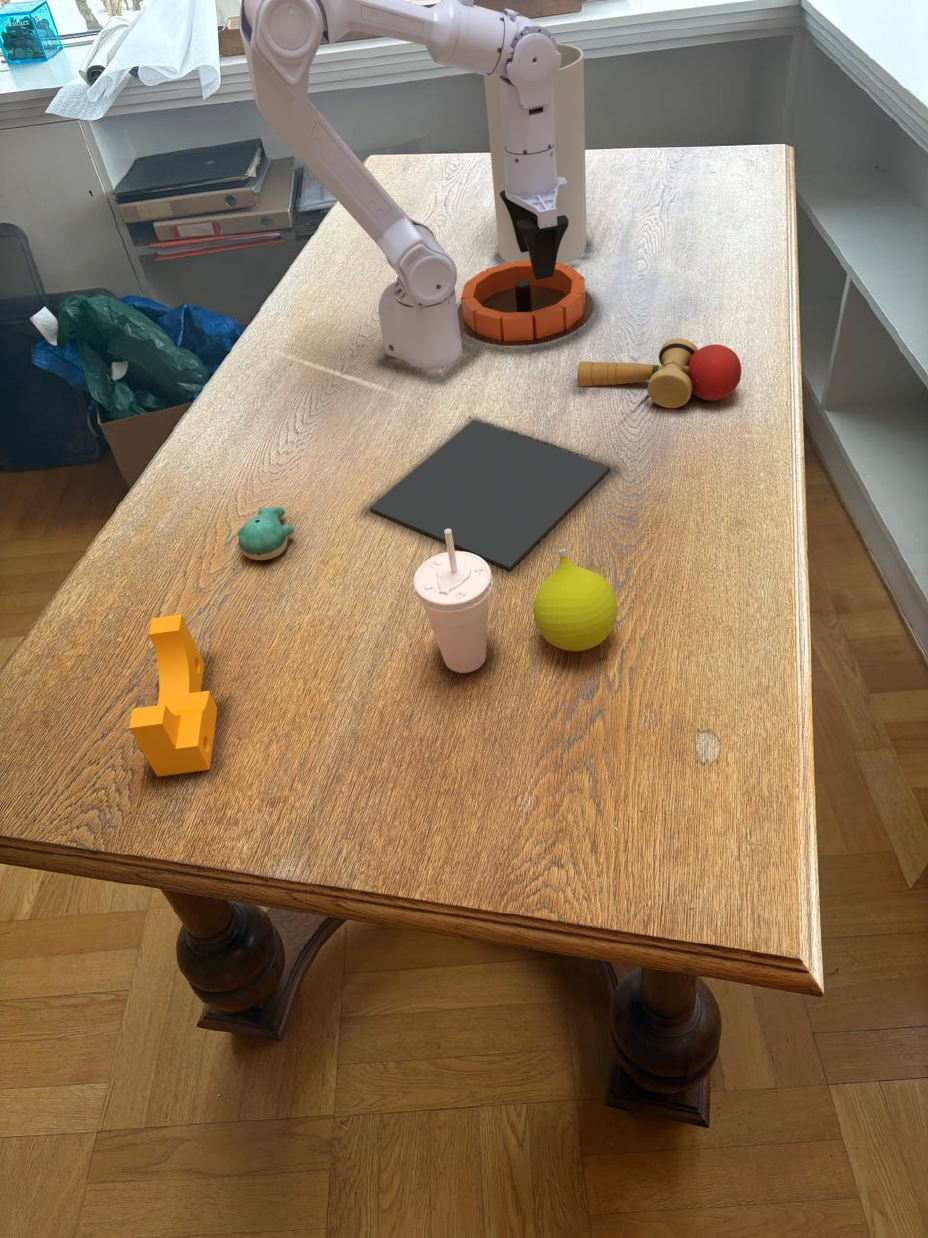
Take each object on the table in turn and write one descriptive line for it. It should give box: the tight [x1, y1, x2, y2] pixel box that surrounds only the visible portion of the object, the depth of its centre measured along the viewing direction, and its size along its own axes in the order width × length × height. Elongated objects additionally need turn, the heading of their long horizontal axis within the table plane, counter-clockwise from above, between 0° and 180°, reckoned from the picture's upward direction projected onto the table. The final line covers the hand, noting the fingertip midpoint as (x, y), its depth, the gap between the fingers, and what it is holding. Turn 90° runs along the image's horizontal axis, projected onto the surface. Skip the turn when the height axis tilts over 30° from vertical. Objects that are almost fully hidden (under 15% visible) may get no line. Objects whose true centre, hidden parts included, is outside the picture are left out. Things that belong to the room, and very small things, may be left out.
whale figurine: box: [237, 506, 295, 561], centre depth 96 cm, size 6×7×4 cm
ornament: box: [532, 536, 618, 652], centre depth 80 cm, size 7×7×10 cm
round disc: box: [457, 279, 595, 347], centre depth 123 cm, size 18×18×4 cm
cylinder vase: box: [483, 42, 588, 265], centre depth 127 cm, size 12×12×25 cm
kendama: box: [577, 337, 742, 409], centre depth 107 cm, size 8×6×18 cm
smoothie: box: [413, 529, 494, 674], centre depth 78 cm, size 6×6×14 cm
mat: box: [369, 419, 611, 572], centre depth 99 cm, size 18×18×1 cm
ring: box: [460, 260, 586, 341], centre depth 122 cm, size 16×16×3 cm
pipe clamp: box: [128, 613, 218, 777], centre depth 79 cm, size 12×4×6 cm, turn 5°
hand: (536, 263), depth 115 cm, fingers open, 7 cm apart
